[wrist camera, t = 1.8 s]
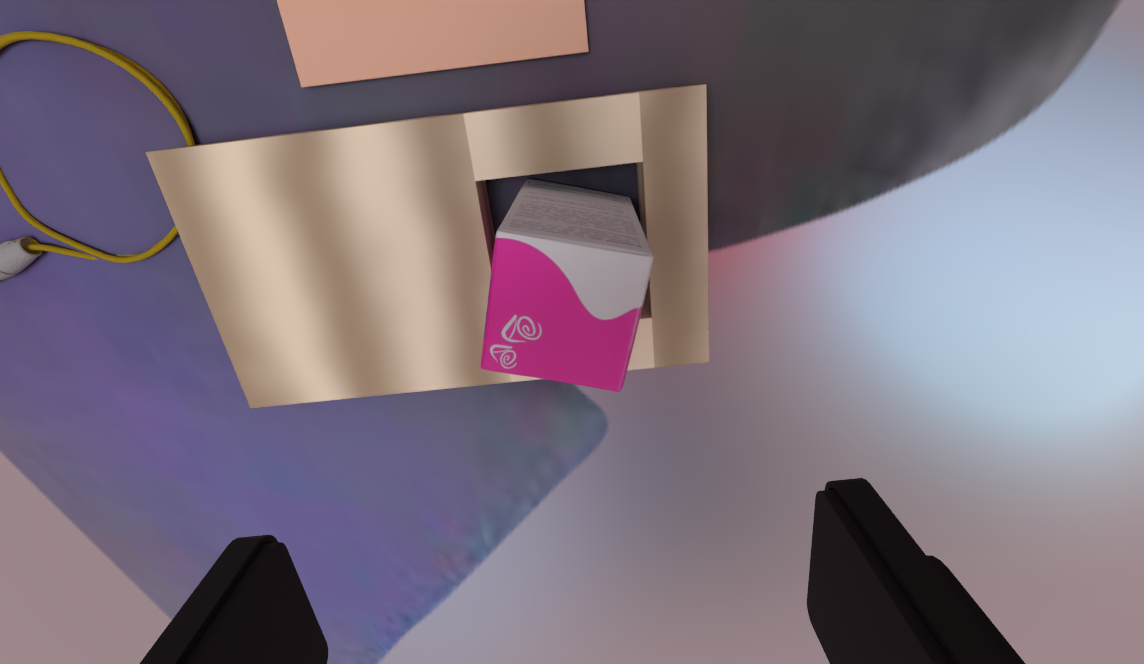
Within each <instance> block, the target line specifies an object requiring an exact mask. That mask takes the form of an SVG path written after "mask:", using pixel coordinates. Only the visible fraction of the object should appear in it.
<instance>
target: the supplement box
mask: <svg viewBox="0 0 1144 664" xmlns="http://www.w3.org/2000/svg"><path fill="white" fill-rule="evenodd" d="M653 259H654V256H653V254H652V252H651V249H650V247H649V244H648V242H647V240H646V237H645V234H644V232H643V229H642V227H641V224H640V222H639V220H638V217H637V215H636V212H635V210H634V207H633V205H632V202H631V199H630V197H629V196H624V195H620V194H615V193H609V192H603V191H598V190H593V189H588V188H582V187H577V186H572V185H566V184H561V183H555V182H550V181H545V180H539V179H534V178H528V179H527V180H526V181H525V183H524V185H523V186H522V188H521V190H520V192H519V193H518V195H517V197H516V199H515V200H514V202H513V204H512V205H511V207H510V209H509V211H508V213H507V214H506V216H505V218H504V220H503V222H502V223H501V225H500V227H499V229H498V230H497V232H496V237H495V244H494V252H493V260H492V268H491V278H490V287H489V295H488V305H487V313H486V322H485V330H484V339H483V348H482V357H481V369H484V370H489V371H494V372H500V373H507V374H513V375H520V376H528V377H535V378H542V379H548V380H554V381H559V382H565V383H571V384H576V385H583V386H589V387H593V388H599V389H605V390H612V391H616V392H620V391H621V388H622V386H623V384H624V380H625V376H626V372H627V369H628V365H629V361H630V357H631V353H632V349H633V345H634V341H635V337H636V332H637V328H638V324H639V320H640V316H641V311H642V307H643V303H644V299H645V294H646V290H647V286H648V281H649V277H650V273H651V269H652V264H653Z"/></svg>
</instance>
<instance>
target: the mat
mask: <svg viewBox="0 0 1144 664" xmlns="http://www.w3.org/2000/svg"><path fill="white" fill-rule="evenodd" d="M277 3H278V6H279V10H280V13H281V17H282V20H283V24H284V27H285V31H286V34H287V38H288V41H289V45H290V48H291V52H292V55H293V59H294V62H295V66H296V69H297V73H298V76H299V80H300V83H301V87H314V86H322V85H330V84H338V83H346V82H354V81H362V80H370V79H378V78H386V77H394V76H402V75H410V74H418V73H426V72H434V71H442V70H450V69H458V68H466V67H474V66H482V65H490V64H498V63H506V62H514V61H522V60H530V59H538V58H546V57H554V56H562V55H570V54H578V53H586V52H589V50H588V39H587V28H586V16H585V5H584V0H277Z"/></svg>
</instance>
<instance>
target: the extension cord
mask: <svg viewBox="0 0 1144 664" xmlns="http://www.w3.org/2000/svg"><path fill="white" fill-rule="evenodd" d="M28 39H35V40H43V41H51V42H57V43H63V44H69V45H73V46H77V47H80V48H83V49H86V50H89V51H92V52H94V53H96V54H98V55H100V56H103V57H105V58H107V59H109V60H111V61H112V62H114V63H116V64H117V65H119V66H121V67H122V68H124V69H125V70H127V71H128V72H129V73H131V74H132V75H134V76H135V77H136V78H138V79H139V80H140V81H141V82H142V83H144V84H145V85H146V86H147V87H148V88H149V89H150V90H151V91H152V92H153V93H154V94H155V95H156V96H157V97H158V98H159V99H160V100H161V101H162V102H163V104H164V105H165V106H166V107H167V109H168V110H169V111H170V113H171V114H172V115H173V117H174V118H175V120H176V122H177V123H178V125H179V127H180V129H181V130H182V133H183V135H184V137H185V140H186V142H187V145H188V146H193V145H195V142H194V139H193V136H192V132H191V129H190V127H189V124H188V122H187V120H186V117H185V115H184V114H183V112H182V110H181V108H180V106H179V105H178V103H177V102H176V100H175V99H174V97H173V96H172V95H171V93H170V92H169V91H168V90H167V89H166V88H165V87H164V85H163V84H162V83H161V82H160V81H159V80H158V79H156V78H155V77H154V76H153V75H152V74H151V73H150V72H148V71H147V70H145V69H144V68H143V67H141V66H140V65H138V64H137V63H135V62H134V61H132V60H130V59H128V58H127V57H125V56H123V55H121V54H119V53H116V52H114V51H112V50H110V49H107V48H105V47H102V46H99V45H96V44H93V43H90V42H86V41H82V40H79V39H75V38H72V37H68V36H63V35H59V34H54V33H46V32H33V31H24V32H13V33H9V34H5V35H2V36H0V50H1V49H2V48H3V47H5V46H7V45H9V44H10V43H13V42H17V41H20V40H28ZM0 184H1V186H2V187H3V189H4V191H5V192H6V194H7V196H8V197H9V199H10V201H11V202H12V204H13V205H14V207H15V209H16V210H17V211H18V212H19V213H20V215H21V216H22V217H23V218H24V219H25V220H27V221H28V222H29V223H30V224H31V225H33V226H34V227H36V228H37V229H39V230H41V231H42V232H44V233H46V234H47V235H49V236H51V237H53V238H55V239H57V240H59V241H62V242H64V243H66V244H68V245H70V246H73V247H75V248H77V249H80V250H82V251H84V252H87V253H89V254H92V255H94V256H97V257H99V258H102V259H105V260H108V261H112V262H118V263H131V262H136V261H141V260H144V259H146V258H148V257H151V256H153V255H154V254H156V253H157V252H159V251H160V250H162V249H163V248H164V247H165V246H166V245H168V244H169V243H170V242H171V241H172V240H173V239H174V238H175V237H176V236H177V235H178V234H179V232H178V230H177V228H176V225H175V226H174V227H173V228H172V230H171V231H170V232H169V233H168V235H167V236H166V237H165V238H163V239H162V240H161V241H160V242H158V243H157V244H156V245H155V246H153V247H152V248H151V249H150V250H148V251H146V252H143V253H141V254H132V255H115V256H113V255H109V254H106V253H103V252H101V251H98V250H96V249H94V248H91V247H89V246H86V245H84V244H81V243H79V242H76V241H74V240H72V239H70V238H68V237H66V236H63V235H61V234H59V233H57V232H55V231H53V230H51V229H49V228H48V227H46V226H44V225H43V224H41V223H39V222H38V221H37V220H36V219H35V218H34V217H32V216H31V215H30V214H29V213H28V211H27V210H26V209H25V208H24V207H23V206H22V204H21V203H20V201H19V199H18V198H17V196H16V195H15V193H14V192H13V190H12V188H11V187H10V185H9V183H8V181H7V179H6V178H5V176H4V174H3V172H2V170H1V168H0ZM43 251H49V252H55V253H60V254H65V255H70V256H75V257H79V258H84V259H90V260H98V259H97V258H95V257H93V256H91V255H88V254H85V253H83V252H79V251H75V250H70V249H66V248H61V247H56V246H50V245H43V244H39V242H38V241H36V240H35V239H33V238H30V237H20V238H19V239H15V240H10V241H6V242H1V243H0V280H5V279H7V278H9V277H11V276H14V275H16V274H18V273H20V272H21V271H22V270H23V269H25V268H26V267H27V266H28V265H29V264H31V263H32V262H33V261H34V260H35V259H36V258H37V257H38V256H40V255H41V254H42V252H43ZM116 256H118V257H116Z"/></svg>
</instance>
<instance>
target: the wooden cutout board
mask: <svg viewBox="0 0 1144 664" xmlns="http://www.w3.org/2000/svg"><path fill="white" fill-rule="evenodd" d="M146 154H147V157H148V159H149V162H150V164H151V167H152V169H153V171H154V174H155V176H156V179H157V181H158V184H159V186H160V188H161V191H162V193H163V196H164V198H165V201H166V203H167V206H168V208H169V210H170V213H171V215H172V218H173V220H174V223H175V225H176V228H177V230H178V232H179V235H180V237H181V240H182V242H183V245H184V247H185V249H186V252H187V254H188V257H189V259H190V262H191V264H192V267H193V269H194V271H195V274H196V276H197V279H198V281H199V284H200V286H201V288H202V291H203V293H204V296H205V298H206V301H207V303H208V306H209V308H210V310H211V313H212V315H213V318H214V320H215V323H216V325H217V327H218V330H219V332H220V335H221V337H222V340H223V342H224V345H225V347H226V349H227V352H228V354H229V357H230V359H231V362H232V364H233V366H234V369H235V371H236V374H237V376H238V379H239V381H240V384H241V386H242V388H243V391H244V393H245V396H246V398H247V401H248V403H249V405H250V408H258V407H268V406H278V405H288V404H297V403H307V402H317V401H327V400H337V399H347V398H357V397H367V396H377V395H387V394H397V393H407V392H417V391H427V390H437V389H447V388H457V387H467V386H477V385H487V384H497V383H507V382H517V381H527V380H537V379H542V378H535V377H528V376H520V375H513V374H507V373H500V372H494V371H489V370H484V369H481V357H482V348H483V339H484V330H485V322H486V313H487V305H488V295H489V287H490V278H491V268H492V260H493V252H494V244H495V232H494V226H493V221H492V215H491V209H490V203H489V197H488V192H487V186H486V180H489V179H498V178H507V177H515V176H524V175H532V174H541V173H550V172H558V171H567V170H576V169H584V168H593V167H601V166H610V165H619V164H627V163H637V180H638V196H639V213H640V224H641V227H642V229H643V232H644V234H645V237H646V240H647V242H648V244H649V247H650V249H651V252H652V254H653V256H654V259H653V264H652V269H651V273H650V277H649V281H648V286H647V290H646V294H645V299H644V303H643V307H642V311H641V316H640V320H639V324H638V328H637V332H636V337H635V341H634V345H633V349H632V353H631V357H630V361H629V365H628V369H627V370H637V369H647V368H656V367H667V366H677V365H687V364H696V363H707V362H709V297H708V295H709V294H708V292H709V291H708V196H707V100H706V84H700V85H686V86H678V87H670V88H661V89H653V90H645V91H637V92H628V93H620V94H612V95H604V96H595V97H587V98H579V99H571V100H562V101H554V102H546V103H538V104H529V105H521V106H513V107H505V108H496V109H488V110H480V111H472V112H464V113H455V114H447V115H439V116H431V117H422V118H414V119H406V120H398V121H389V122H381V123H373V124H365V125H356V126H348V127H340V128H332V129H323V130H315V131H307V132H299V133H290V134H282V135H274V136H266V137H257V138H249V139H241V140H233V141H225V142H216V143H208V144H200V145H193V146H184V147H177V148H171V149H164V150H158V151H151V152H146Z"/></svg>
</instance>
